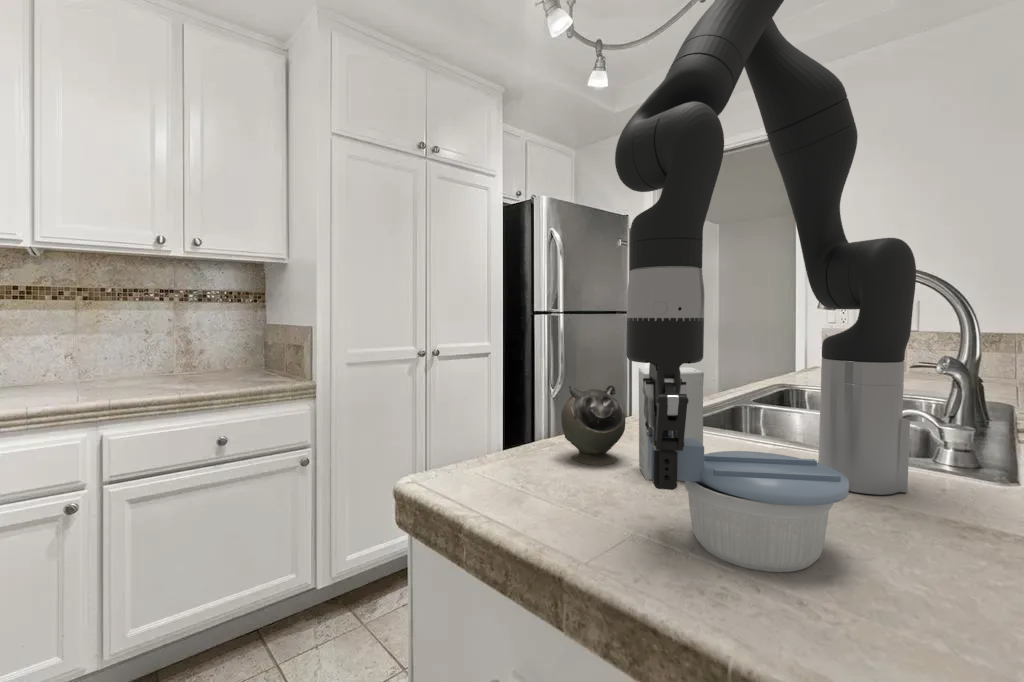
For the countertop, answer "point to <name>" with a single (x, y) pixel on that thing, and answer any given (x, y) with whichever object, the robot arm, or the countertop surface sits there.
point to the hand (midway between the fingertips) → (662, 480)
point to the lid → (759, 475)
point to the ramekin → (757, 530)
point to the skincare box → (692, 416)
